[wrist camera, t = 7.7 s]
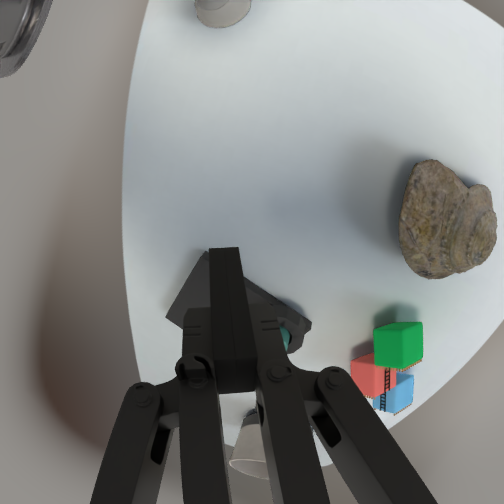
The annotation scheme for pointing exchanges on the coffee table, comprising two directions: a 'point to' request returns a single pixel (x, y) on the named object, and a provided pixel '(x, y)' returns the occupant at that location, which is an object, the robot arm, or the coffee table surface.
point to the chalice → (221, 12)
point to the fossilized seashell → (445, 222)
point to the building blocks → (390, 366)
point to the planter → (250, 449)
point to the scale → (199, 296)
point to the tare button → (285, 336)
